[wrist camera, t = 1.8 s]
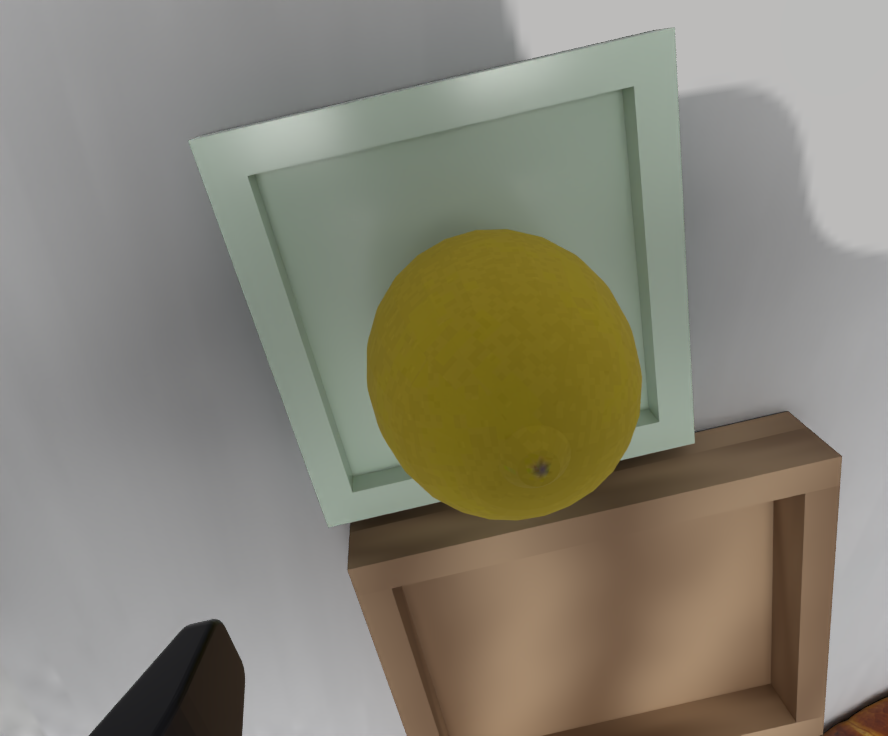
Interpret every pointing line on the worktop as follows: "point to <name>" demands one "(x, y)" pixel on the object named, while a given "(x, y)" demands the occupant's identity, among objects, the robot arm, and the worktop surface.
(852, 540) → the worktop surface
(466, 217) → the dish
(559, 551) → the tray
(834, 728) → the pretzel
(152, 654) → the worktop surface
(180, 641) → the robot arm
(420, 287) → the lemon
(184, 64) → the worktop surface
